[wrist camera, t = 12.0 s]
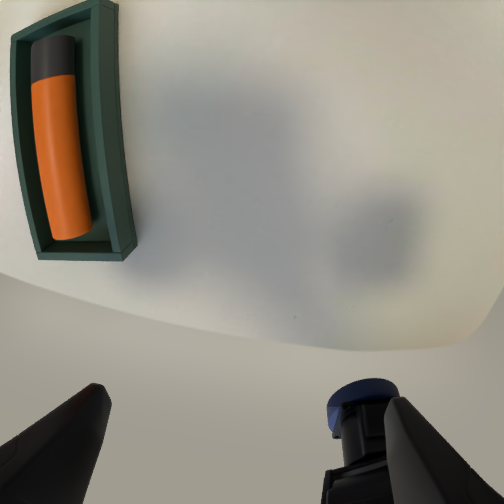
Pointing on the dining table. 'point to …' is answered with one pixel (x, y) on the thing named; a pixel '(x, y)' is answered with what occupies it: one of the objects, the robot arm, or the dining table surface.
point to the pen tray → (90, 132)
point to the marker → (59, 136)
